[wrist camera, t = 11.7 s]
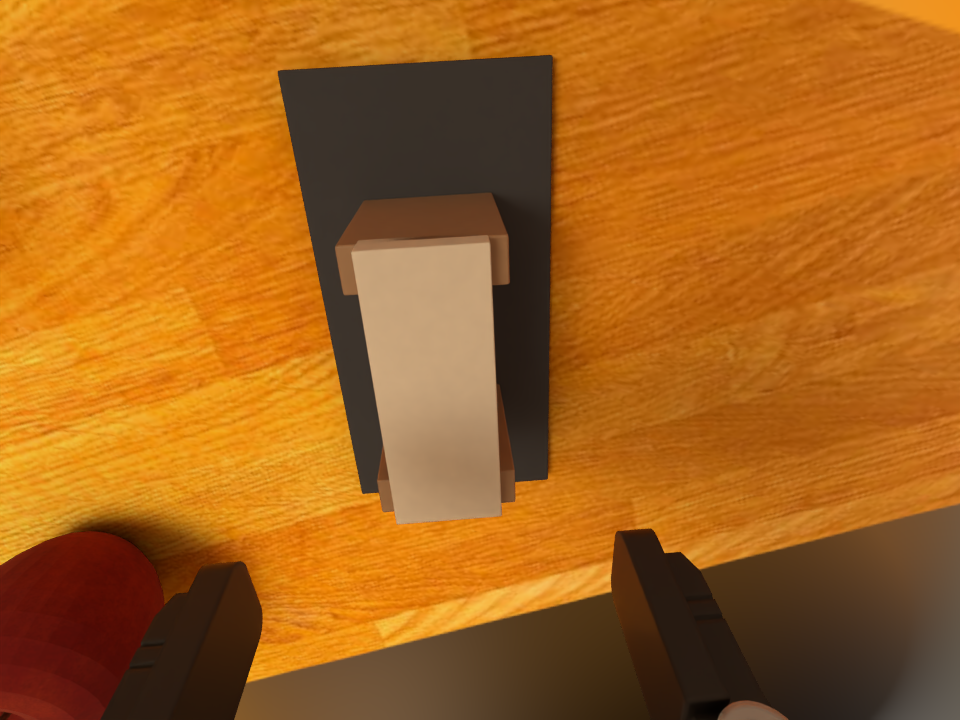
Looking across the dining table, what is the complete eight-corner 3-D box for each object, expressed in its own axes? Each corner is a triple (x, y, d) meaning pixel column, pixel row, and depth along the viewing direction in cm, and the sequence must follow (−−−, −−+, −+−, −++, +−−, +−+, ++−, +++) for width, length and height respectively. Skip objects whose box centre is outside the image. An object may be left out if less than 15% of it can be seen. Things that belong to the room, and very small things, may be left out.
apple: (226, 599, 33) (145, 792, 24) (76, 627, 33) (-55, 827, 25) (151, 482, 28) (19, 667, 20) (-20, 516, 29) (-224, 712, 20)
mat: (281, 70, 20) (276, 70, 19) (550, 55, 20) (552, 55, 20) (363, 486, 29) (362, 494, 29) (546, 472, 30) (548, 479, 29)
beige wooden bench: (363, 200, 22) (329, 252, 15) (492, 192, 22) (511, 241, 16) (395, 418, 27) (380, 526, 20) (500, 410, 27) (517, 515, 21)
